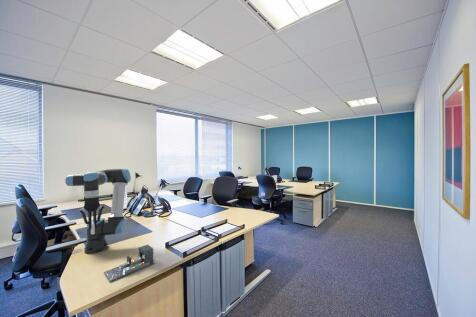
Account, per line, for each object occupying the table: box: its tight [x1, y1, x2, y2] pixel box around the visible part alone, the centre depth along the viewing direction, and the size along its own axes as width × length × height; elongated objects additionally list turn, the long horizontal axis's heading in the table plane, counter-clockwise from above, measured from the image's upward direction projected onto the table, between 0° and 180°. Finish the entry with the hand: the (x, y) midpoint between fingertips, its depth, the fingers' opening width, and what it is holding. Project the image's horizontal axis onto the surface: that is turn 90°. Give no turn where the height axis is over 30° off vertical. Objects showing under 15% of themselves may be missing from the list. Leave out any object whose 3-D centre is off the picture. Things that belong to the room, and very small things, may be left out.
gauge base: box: [103, 244, 156, 283], centre depth 128 cm, size 13×26×10 cm, turn 137°
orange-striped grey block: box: [126, 255, 143, 266], centre depth 131 cm, size 9×13×6 cm
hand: (92, 233), depth 126 cm, fingers closed
